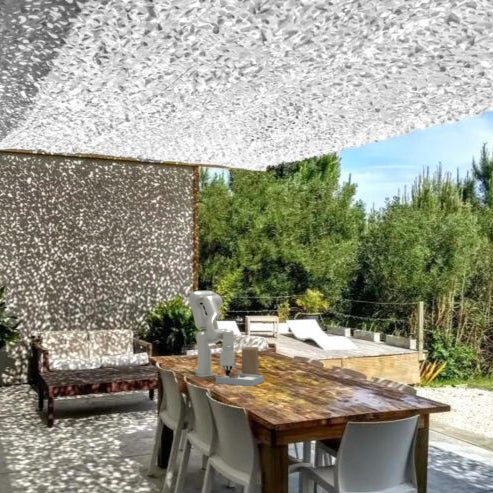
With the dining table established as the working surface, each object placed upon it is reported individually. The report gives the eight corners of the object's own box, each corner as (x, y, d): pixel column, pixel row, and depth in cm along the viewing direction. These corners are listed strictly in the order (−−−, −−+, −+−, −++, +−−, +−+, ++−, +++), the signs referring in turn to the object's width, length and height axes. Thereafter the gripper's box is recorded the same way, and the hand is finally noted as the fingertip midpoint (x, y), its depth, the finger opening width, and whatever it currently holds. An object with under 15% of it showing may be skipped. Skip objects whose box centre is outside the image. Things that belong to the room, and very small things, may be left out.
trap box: (215, 382, 419) (215, 376, 419) (228, 378, 435) (228, 372, 435) (252, 386, 407) (252, 380, 407) (263, 381, 423) (263, 375, 423)
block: (255, 377, 437) (255, 348, 438) (241, 377, 439) (241, 348, 440) (258, 375, 447) (258, 346, 448) (244, 374, 449) (244, 346, 450)
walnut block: (229, 378, 422) (229, 373, 422) (232, 377, 426) (232, 372, 426) (235, 378, 420) (235, 374, 420) (238, 377, 424) (238, 373, 424)
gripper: (215, 348, 425) (215, 375, 425) (235, 349, 419) (235, 377, 418) (221, 347, 432) (221, 374, 432) (240, 348, 426) (240, 375, 425)
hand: (228, 375), depth 425 cm, fingers closed
